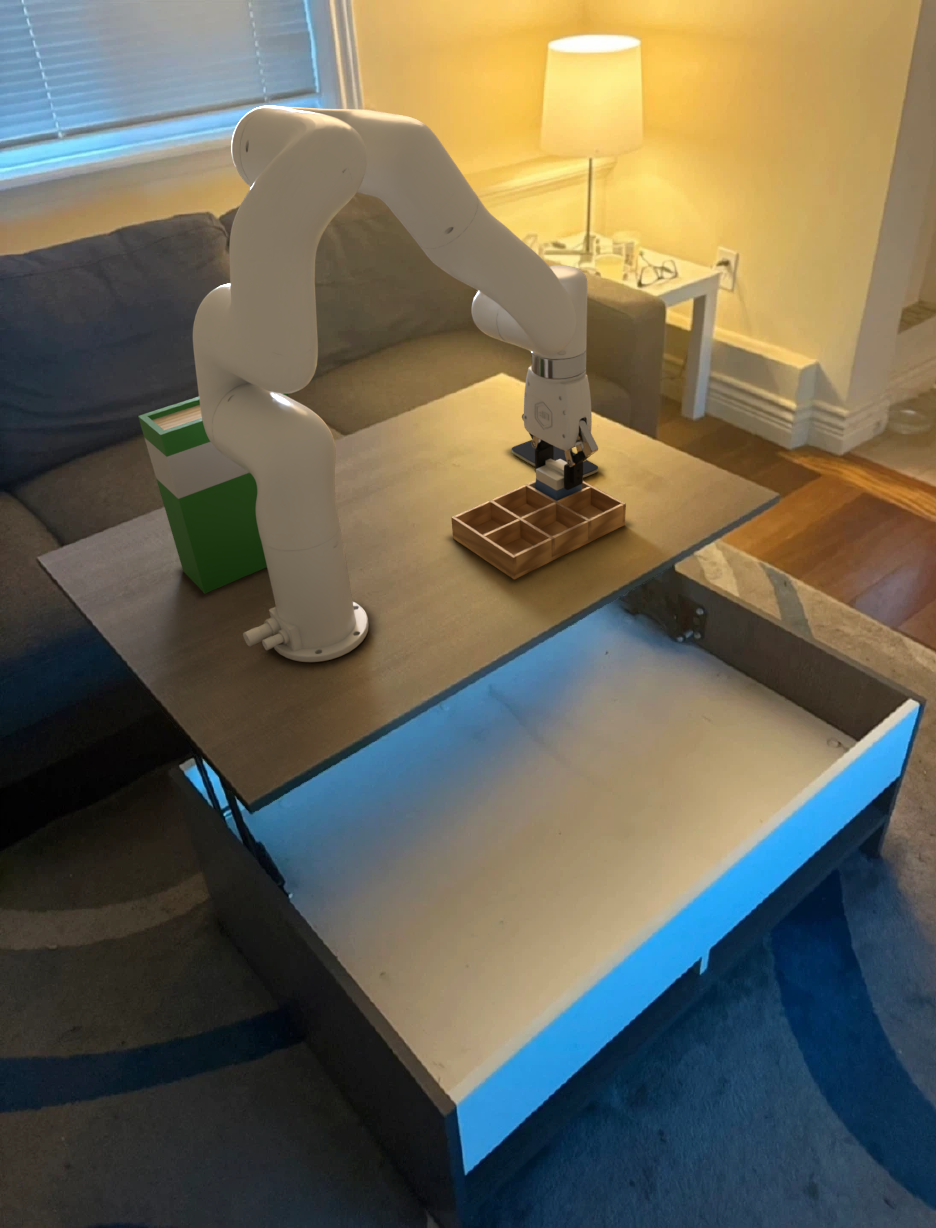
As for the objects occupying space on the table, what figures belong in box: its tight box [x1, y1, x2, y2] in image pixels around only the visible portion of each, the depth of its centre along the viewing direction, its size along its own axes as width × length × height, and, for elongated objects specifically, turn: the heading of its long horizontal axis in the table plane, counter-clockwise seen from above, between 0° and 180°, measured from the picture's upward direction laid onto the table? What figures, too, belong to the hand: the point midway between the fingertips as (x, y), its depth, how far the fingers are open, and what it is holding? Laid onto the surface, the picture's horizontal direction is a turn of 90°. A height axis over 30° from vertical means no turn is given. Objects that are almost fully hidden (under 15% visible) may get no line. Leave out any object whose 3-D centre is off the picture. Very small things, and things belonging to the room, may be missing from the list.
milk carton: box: [535, 459, 582, 501], centre depth 142 cm, size 5×5×6 cm
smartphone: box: [511, 439, 599, 479], centre depth 155 cm, size 7×1×15 cm
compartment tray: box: [450, 479, 627, 581], centre depth 137 cm, size 21×14×4 cm
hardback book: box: [137, 393, 289, 594], centre depth 130 cm, size 18×7×24 cm, turn 127°
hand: (558, 477), depth 141 cm, fingers open, 5 cm apart
